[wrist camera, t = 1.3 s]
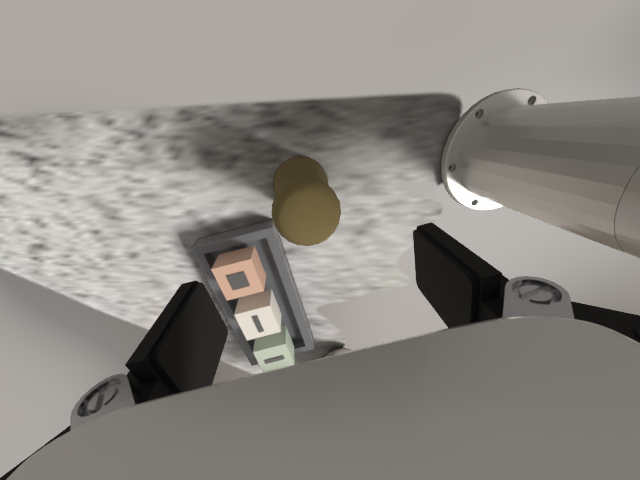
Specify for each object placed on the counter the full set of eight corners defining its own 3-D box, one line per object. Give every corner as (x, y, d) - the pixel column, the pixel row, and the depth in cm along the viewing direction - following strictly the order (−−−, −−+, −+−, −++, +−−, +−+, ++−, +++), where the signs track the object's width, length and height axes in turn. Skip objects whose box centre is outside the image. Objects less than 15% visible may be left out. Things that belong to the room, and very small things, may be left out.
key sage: (285, 325, 32) (285, 344, 29) (294, 346, 34) (294, 366, 31) (255, 333, 32) (252, 353, 29) (265, 353, 34) (263, 374, 31)
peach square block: (254, 245, 27) (250, 259, 24) (266, 275, 29) (263, 291, 26) (218, 254, 27) (210, 269, 24) (232, 283, 29) (226, 301, 26)
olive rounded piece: (261, 180, 27) (244, 214, 17) (305, 144, 25) (316, 156, 16) (296, 221, 29) (301, 272, 19) (338, 189, 28) (366, 225, 18)
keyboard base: (273, 219, 28) (272, 227, 26) (312, 335, 37) (314, 349, 35) (198, 238, 28) (190, 248, 26) (253, 350, 37) (251, 365, 34)
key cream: (271, 288, 29) (269, 306, 27) (281, 313, 31) (280, 332, 28) (239, 297, 29) (233, 315, 27) (250, 321, 31) (246, 341, 28)
